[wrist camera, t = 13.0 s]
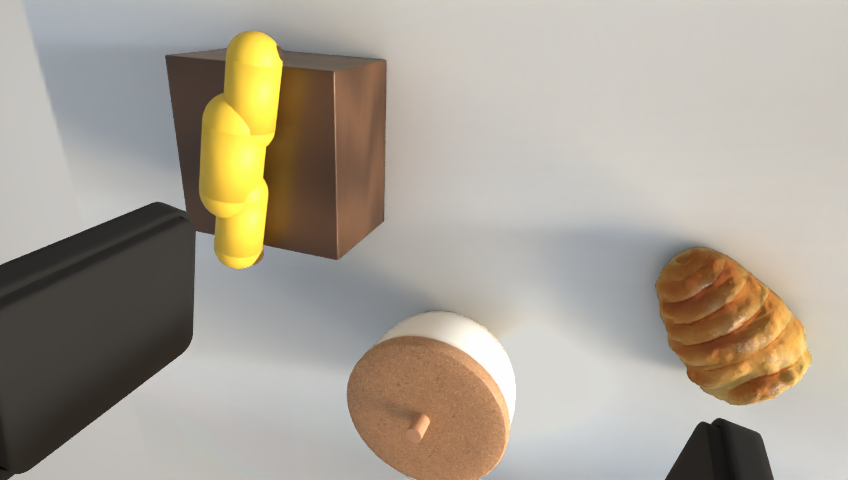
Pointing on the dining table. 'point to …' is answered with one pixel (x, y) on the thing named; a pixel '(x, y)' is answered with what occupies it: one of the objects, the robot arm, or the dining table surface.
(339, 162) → the block
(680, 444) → the dining table surface
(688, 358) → the pastry
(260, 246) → the banana
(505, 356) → the trinket box
